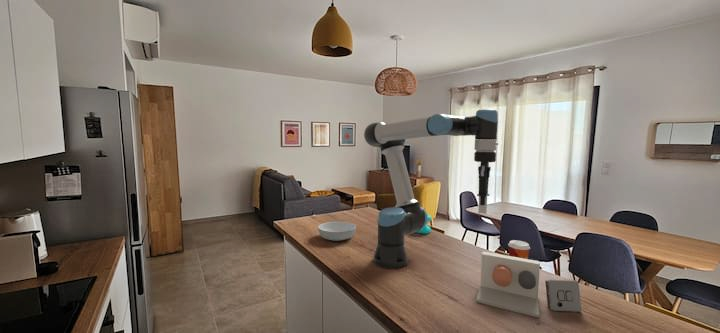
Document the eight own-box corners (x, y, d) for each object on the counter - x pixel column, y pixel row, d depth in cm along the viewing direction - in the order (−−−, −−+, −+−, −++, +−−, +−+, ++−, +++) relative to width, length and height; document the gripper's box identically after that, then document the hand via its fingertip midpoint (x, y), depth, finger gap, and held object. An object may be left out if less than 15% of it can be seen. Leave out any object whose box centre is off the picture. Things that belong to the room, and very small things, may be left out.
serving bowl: (363, 236, 167) (363, 224, 166) (341, 247, 149) (341, 234, 149) (333, 230, 178) (333, 219, 177) (309, 240, 160) (309, 227, 160)
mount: (476, 301, 100) (478, 264, 99) (481, 284, 112) (483, 250, 111) (538, 317, 91) (541, 276, 90) (537, 297, 103) (539, 260, 102)
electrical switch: (551, 311, 95) (551, 282, 95) (542, 304, 100) (542, 276, 100) (582, 312, 94) (582, 283, 94) (571, 305, 99) (571, 277, 99)
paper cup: (520, 283, 113) (522, 247, 112) (502, 275, 120) (503, 241, 119) (532, 279, 117) (534, 244, 116) (514, 271, 124) (516, 238, 122)
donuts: (432, 217, 171) (414, 217, 172) (431, 234, 171) (414, 233, 173) (430, 213, 180) (413, 212, 182) (430, 229, 181) (413, 228, 183)
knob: (491, 284, 103) (492, 267, 102) (495, 270, 114) (495, 255, 113) (511, 288, 100) (512, 271, 99) (512, 273, 111) (513, 258, 111)
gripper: (494, 152, 104) (491, 218, 106) (497, 151, 116) (494, 210, 118) (472, 151, 108) (469, 215, 110) (477, 150, 119) (474, 208, 121)
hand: (482, 212), depth 114 cm, fingers closed
